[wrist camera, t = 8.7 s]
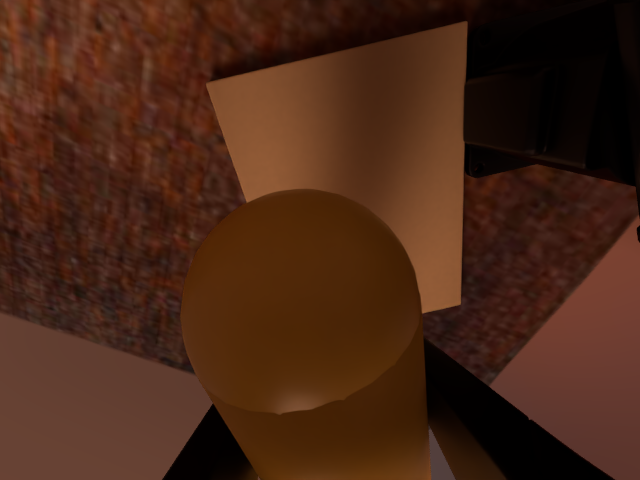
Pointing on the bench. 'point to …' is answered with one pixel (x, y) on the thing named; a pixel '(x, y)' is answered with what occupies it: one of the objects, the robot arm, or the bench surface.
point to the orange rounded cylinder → (311, 339)
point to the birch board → (365, 140)
